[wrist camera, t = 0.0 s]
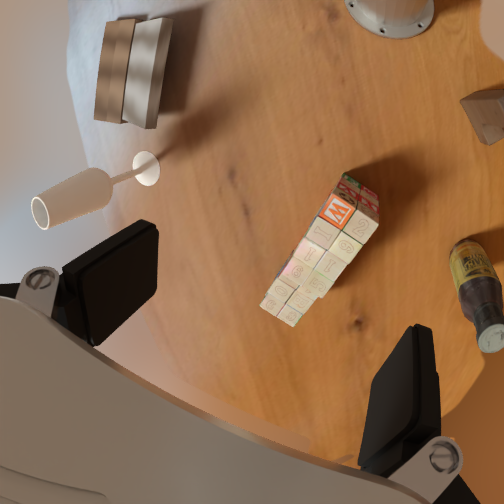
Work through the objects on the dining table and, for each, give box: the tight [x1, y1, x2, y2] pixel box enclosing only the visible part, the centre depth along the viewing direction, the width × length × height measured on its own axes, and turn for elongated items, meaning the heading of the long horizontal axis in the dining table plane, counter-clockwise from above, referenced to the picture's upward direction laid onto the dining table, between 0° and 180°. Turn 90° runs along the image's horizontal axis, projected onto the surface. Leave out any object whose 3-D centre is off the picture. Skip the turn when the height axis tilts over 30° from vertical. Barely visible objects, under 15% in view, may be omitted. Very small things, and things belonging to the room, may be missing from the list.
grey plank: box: [122, 18, 174, 129], centre depth 43 cm, size 18×10×2 cm, turn 166°
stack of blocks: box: [259, 173, 379, 327], centre depth 43 cm, size 21×6×12 cm, turn 152°
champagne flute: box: [31, 151, 160, 230], centre depth 45 cm, size 7×7×24 cm
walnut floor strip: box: [94, 19, 143, 124], centre depth 47 cm, size 20×8×2 cm, turn 166°
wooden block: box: [460, 89, 504, 146], centre depth 25 cm, size 7×3×15 cm, turn 35°
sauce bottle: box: [449, 239, 504, 353], centre depth 32 cm, size 7×6×20 cm
